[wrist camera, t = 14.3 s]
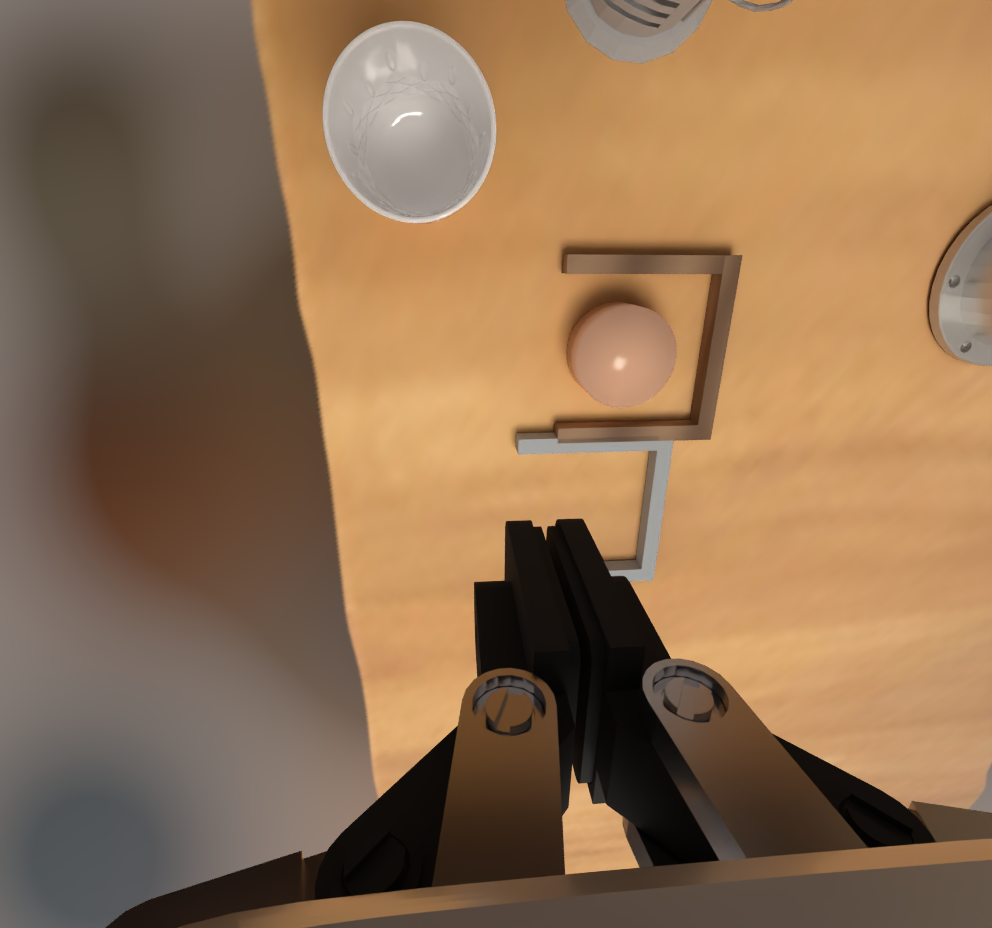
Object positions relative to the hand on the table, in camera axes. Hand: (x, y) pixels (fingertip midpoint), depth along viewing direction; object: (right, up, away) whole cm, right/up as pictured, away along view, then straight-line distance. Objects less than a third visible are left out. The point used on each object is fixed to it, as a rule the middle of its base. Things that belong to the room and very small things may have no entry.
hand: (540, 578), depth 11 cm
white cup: (-6, +22, +22) cm, 31 cm away
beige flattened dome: (+8, +11, +27) cm, 30 cm away
